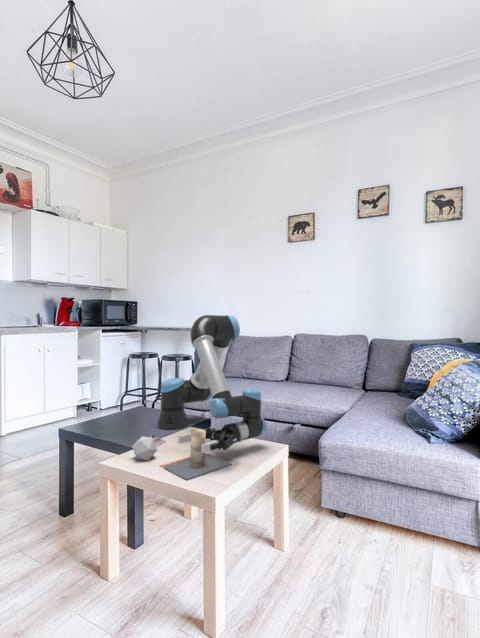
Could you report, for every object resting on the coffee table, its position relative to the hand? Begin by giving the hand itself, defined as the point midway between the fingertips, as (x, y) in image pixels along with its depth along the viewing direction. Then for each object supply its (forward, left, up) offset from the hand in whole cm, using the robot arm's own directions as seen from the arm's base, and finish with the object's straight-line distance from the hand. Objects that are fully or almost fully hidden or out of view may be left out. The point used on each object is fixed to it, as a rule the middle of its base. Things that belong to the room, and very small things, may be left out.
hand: (190, 444), depth 130 cm
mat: (-3, 0, -9) cm, 9 cm away
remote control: (-5, -35, -9) cm, 37 cm away
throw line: (-3, -9, -9) cm, 12 cm away
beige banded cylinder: (-3, 0, -8) cm, 9 cm away
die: (+7, -20, -9) cm, 23 cm away
